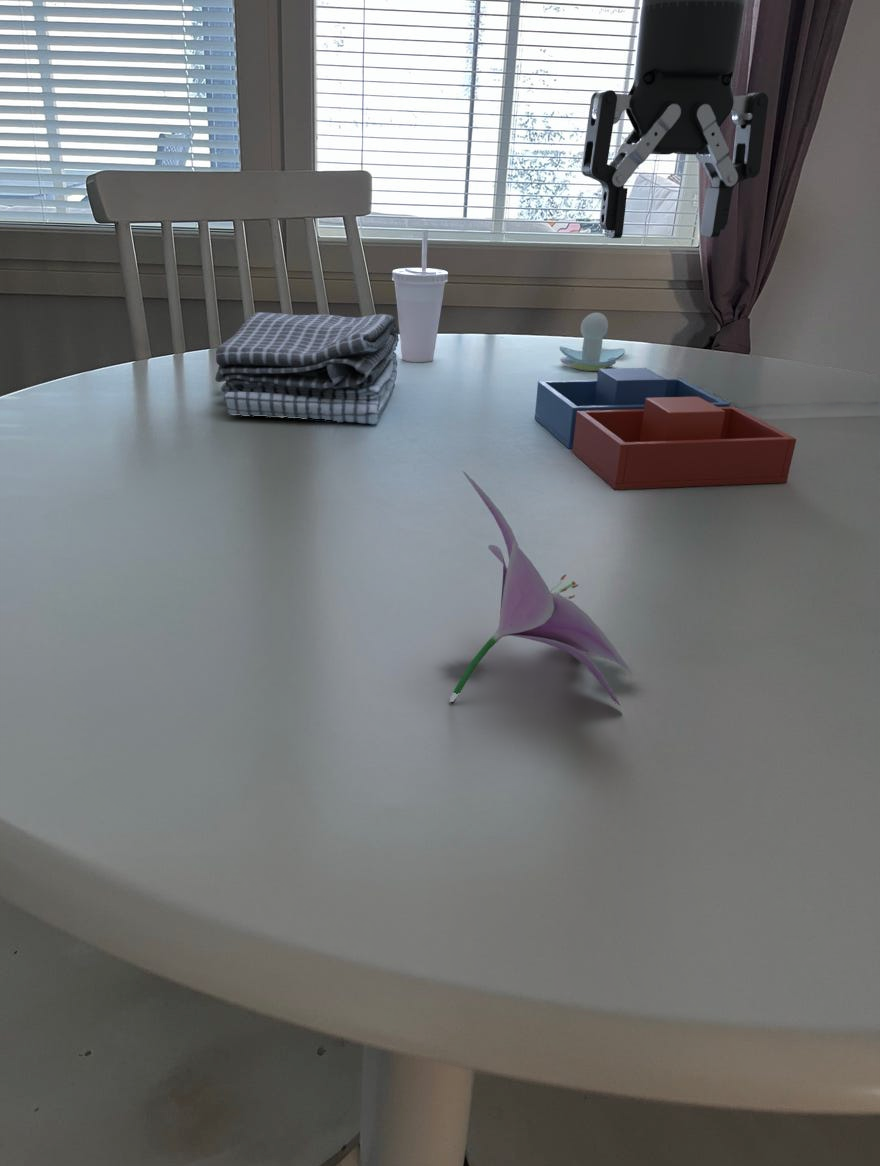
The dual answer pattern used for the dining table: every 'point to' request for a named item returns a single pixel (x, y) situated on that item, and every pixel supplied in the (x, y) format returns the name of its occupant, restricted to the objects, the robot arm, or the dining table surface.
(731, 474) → the red bin
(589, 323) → the pacifier
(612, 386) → the blue block
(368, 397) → the towel
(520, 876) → the dining table surface
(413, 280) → the smoothie
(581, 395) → the blue bin
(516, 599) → the lily
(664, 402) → the red block
